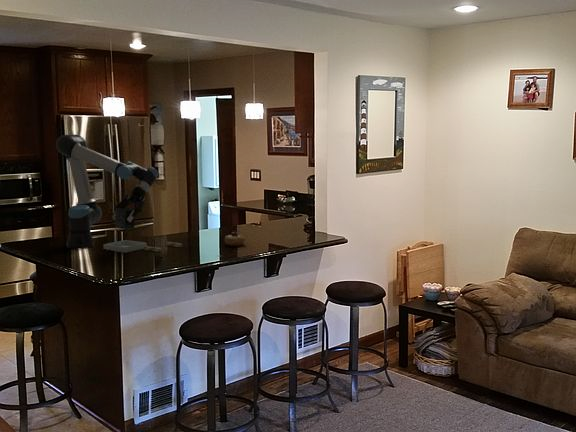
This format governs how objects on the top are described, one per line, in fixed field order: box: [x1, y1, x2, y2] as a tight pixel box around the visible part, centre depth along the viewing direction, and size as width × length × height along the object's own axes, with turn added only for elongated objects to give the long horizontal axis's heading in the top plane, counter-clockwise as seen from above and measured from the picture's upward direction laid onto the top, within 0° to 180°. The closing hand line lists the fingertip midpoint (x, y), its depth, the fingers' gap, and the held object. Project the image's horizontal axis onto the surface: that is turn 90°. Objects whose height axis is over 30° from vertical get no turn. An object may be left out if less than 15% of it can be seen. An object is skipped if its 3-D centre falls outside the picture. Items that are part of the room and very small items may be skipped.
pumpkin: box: [224, 229, 246, 247], centre depth 370 cm, size 12×12×9 cm
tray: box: [103, 239, 148, 254], centre depth 356 cm, size 17×17×3 cm
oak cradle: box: [143, 241, 183, 253], centre depth 358 cm, size 12×18×2 cm, turn 148°
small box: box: [114, 207, 135, 230], centre depth 354 cm, size 11×6×10 cm, turn 47°
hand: (121, 219), depth 352 cm, fingers closed on small box, 11 cm apart
